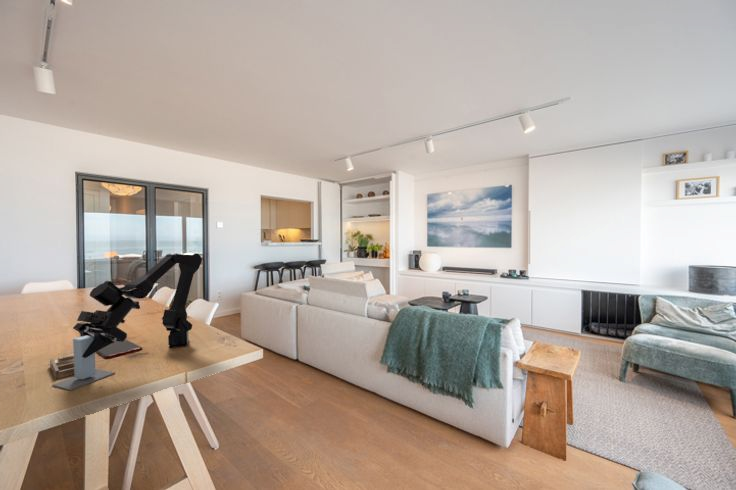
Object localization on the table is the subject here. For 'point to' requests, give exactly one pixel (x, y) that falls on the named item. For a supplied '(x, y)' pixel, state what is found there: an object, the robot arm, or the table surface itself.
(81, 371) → the block
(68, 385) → the mat
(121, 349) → the smartphone
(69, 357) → the offcut stack
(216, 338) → the table surface
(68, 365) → the rack
